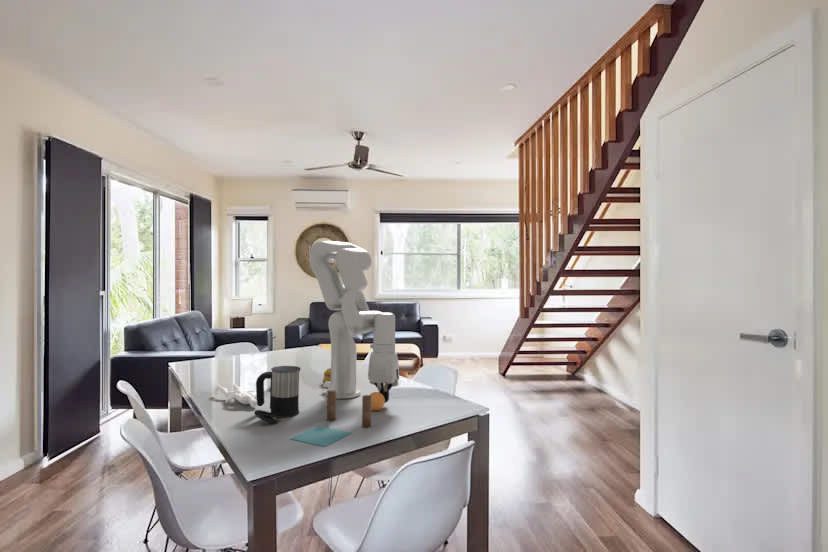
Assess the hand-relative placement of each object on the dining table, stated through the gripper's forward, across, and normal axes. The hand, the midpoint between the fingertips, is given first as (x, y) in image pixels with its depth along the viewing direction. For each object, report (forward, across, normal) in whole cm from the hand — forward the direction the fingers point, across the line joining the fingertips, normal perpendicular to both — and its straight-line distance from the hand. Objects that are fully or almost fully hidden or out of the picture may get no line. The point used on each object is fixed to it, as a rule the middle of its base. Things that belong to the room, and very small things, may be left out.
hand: (383, 401), depth 158 cm
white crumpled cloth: (+2, -49, -17) cm, 52 cm away
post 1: (+2, -8, -20) cm, 21 cm away
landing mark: (+2, -2, -33) cm, 33 cm away
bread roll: (+2, -34, +21) cm, 40 cm away
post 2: (+2, +5, -20) cm, 21 cm away
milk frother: (+2, -25, -25) cm, 35 cm away
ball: (-1, -1, -5) cm, 5 cm away
